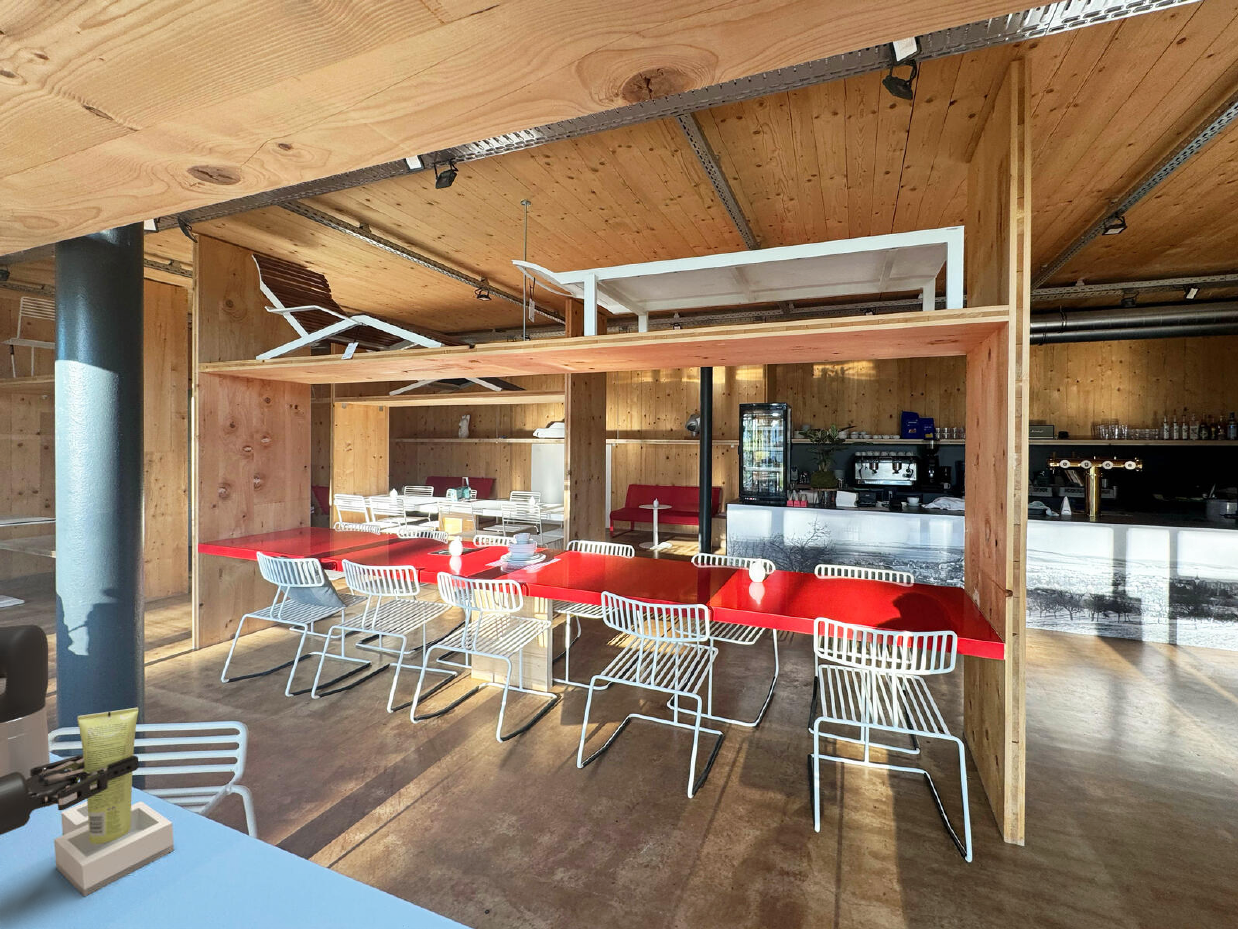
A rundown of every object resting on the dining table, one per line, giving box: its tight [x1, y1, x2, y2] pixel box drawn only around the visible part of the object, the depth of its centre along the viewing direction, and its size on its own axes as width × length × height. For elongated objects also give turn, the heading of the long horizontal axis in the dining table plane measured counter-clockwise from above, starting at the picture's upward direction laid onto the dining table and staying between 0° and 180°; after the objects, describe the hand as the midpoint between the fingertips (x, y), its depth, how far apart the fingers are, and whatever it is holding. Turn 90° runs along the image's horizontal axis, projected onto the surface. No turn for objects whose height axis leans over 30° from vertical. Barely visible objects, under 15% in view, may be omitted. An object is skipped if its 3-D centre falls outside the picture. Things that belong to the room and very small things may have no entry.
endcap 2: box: [53, 801, 175, 897], centre depth 92 cm, size 12×11×4 cm
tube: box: [77, 707, 139, 844], centre depth 92 cm, size 6×5×20 cm
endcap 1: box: [60, 801, 88, 836], centre depth 99 cm, size 7×7×4 cm
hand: (129, 757), depth 94 cm, fingers closed on tube, 4 cm apart
